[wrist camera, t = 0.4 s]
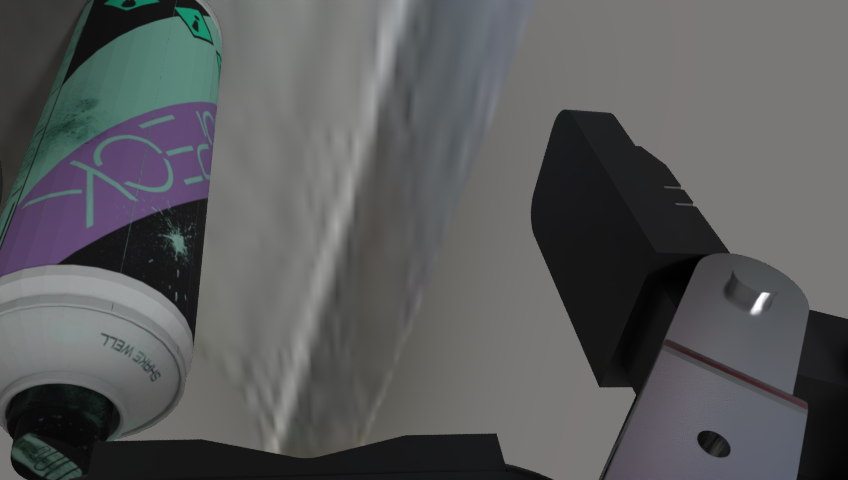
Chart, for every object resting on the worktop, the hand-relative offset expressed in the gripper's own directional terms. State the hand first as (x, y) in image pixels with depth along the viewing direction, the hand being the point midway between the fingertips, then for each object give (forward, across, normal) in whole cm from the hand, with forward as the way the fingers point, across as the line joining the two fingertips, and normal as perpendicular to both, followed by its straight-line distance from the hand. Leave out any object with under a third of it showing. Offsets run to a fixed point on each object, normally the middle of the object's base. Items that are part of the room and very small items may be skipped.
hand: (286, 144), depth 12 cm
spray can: (+22, +5, +8) cm, 24 cm away
